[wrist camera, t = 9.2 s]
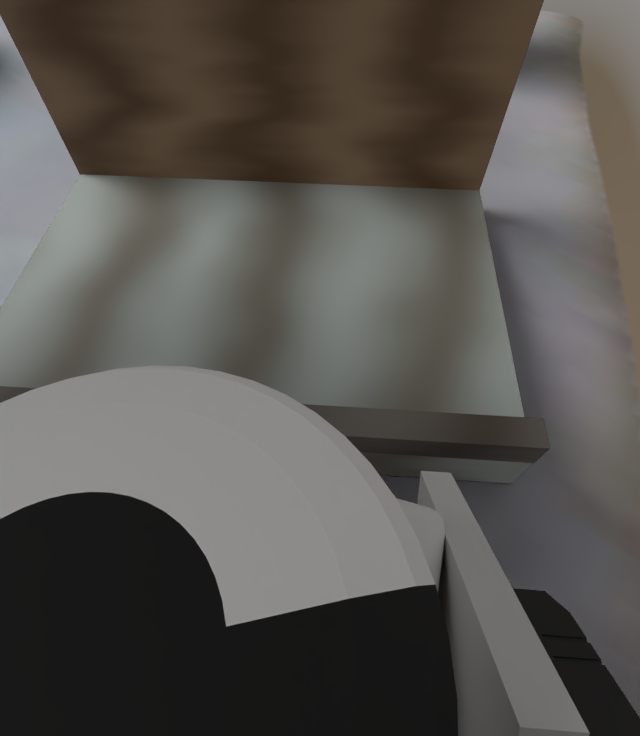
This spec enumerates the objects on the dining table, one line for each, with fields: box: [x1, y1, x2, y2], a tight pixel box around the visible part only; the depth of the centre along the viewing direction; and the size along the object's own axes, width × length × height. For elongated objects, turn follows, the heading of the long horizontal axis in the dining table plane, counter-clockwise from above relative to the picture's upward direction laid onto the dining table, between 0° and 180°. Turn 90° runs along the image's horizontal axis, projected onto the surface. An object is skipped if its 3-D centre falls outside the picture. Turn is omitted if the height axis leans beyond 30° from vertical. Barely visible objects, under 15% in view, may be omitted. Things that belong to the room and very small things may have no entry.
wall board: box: [0, 0, 550, 484], centre depth 16 cm, size 20×16×10 cm
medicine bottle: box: [0, 366, 458, 736], centre depth 8 cm, size 7×7×12 cm
